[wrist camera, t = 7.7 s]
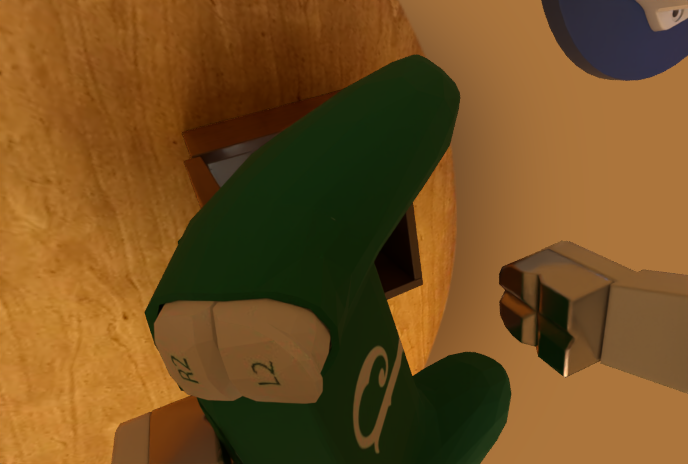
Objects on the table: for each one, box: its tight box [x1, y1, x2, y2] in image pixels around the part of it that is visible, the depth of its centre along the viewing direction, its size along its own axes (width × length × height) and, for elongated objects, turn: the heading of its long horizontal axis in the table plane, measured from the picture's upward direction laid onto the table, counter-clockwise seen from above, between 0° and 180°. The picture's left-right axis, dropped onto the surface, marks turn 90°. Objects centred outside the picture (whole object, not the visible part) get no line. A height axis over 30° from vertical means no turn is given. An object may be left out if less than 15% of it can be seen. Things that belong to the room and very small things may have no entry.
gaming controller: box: [145, 55, 511, 464], centre depth 8 cm, size 9×4×6 cm
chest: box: [182, 90, 423, 300], centre depth 27 cm, size 11×12×8 cm
